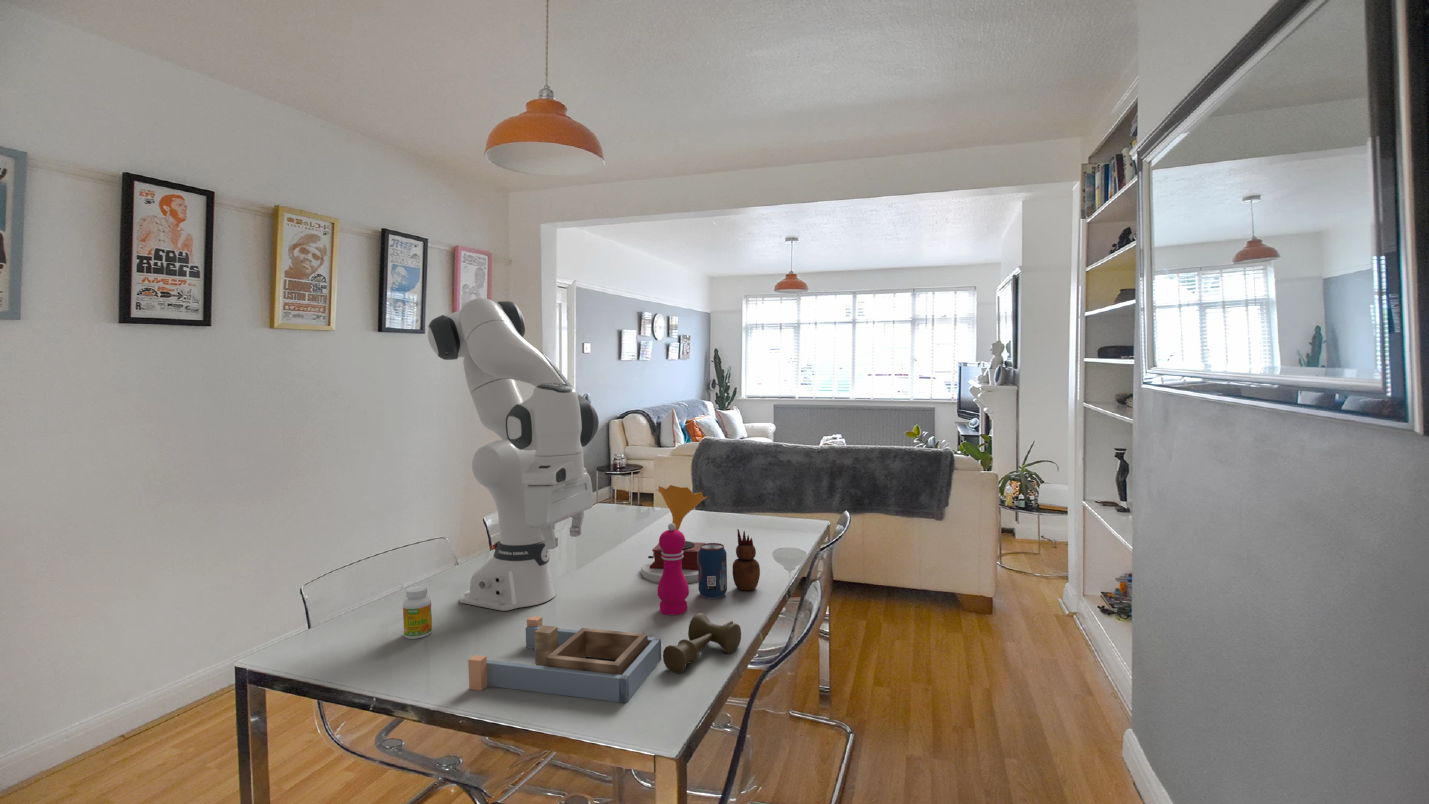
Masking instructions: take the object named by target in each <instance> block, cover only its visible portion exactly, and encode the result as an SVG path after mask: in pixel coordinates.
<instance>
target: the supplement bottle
mask: <svg viewBox="0 0 1429 804" xmlns="http://www.w3.org/2000/svg"><path fill="white" fill-rule="evenodd" d="M405 595H406V599H405V600H404V601H403V603H402V612H403V614H402V616H403V618H402V619H403V636H404V637H405V638H406V639H408V640H418V639H421V638H426V637H427V636H430V635H431V634H432V633H433V617H432V599H431V598H430V597H429V596H428V587H427V586H425V585H415V586H411V587H409V588H407V589H406V591H405Z"/></svg>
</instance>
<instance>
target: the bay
mask: <svg viewBox="0 0 1429 804" xmlns="http://www.w3.org/2000/svg"><path fill="white" fill-rule="evenodd" d="M542 626H543V617H542V616H537V615H536V616H534V615H532V616H530V617H528V618H527V619H526V627H525V648H526V649H534V650H535V631H536V630H538V629H539V628H540V627H542ZM579 630H580V629H577V630H576V629H569V628H568V629H567V628H559V627H558V647H560V646H561V645H562V644H563V643H564V642H566V641H567V640H568V639H569V638H571V637H572V636H573V635H574V634H575V633H577V632H578V631H579ZM661 660H662V638H660V637H654V636H653V637H650V636H648V646H647V647H646V648H645V649H644V651H643V652H642V653H641V654H640V655H639V656H638V657H637V659H636V660H635V661H634V662H633V663H632V664H631V665H630V666H629V668H628V669H627V670H626V671H625V672H624V673H623V674H622V675H616V674H608V673H599V672H590V671H582V670H573V669H564V668H556V667H547V666H538V665H536V664H528V663H518V662H510V661H500V660H493V659H488V656H486V655H480V654H479V655H477V654H474V655H473V656H471V657H470V658H468V660H467V663H468V667H467V668H468V689H469V690H474V691H482V690H483V691H484V689H486V688H487V687H496V688H504V689H513V690H518V691H519V690H520V691H528V692H535V693H545V694H551V695H552V694H553V695H558V696H559V695H560V696H567V697H568V696H569V697H575V698H583V699H589V700H598V701H605V702H615V703H623V704H627V703H628V702H629V700H630V699H631V698H632V697H633V696H634V694H635V693H636V691H637V690H638V689H639V688H640V686H641V685H643V683H644V682H645V680H646V679H647V678H648V677H649V676H650V674H651V673H652V672H653V670H654V669H655V668H656V666H658V664H659V663H660V662H661Z"/></svg>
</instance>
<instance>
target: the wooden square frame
mask: <svg viewBox="0 0 1429 804" xmlns="http://www.w3.org/2000/svg"><path fill="white" fill-rule="evenodd" d="M542 625H543V624H542ZM558 628H559V627H558V626H551V625H543V626H542V627H540V628H539V629H538V630H536V631H535V649H534V654H535V655H534V657H535V658H534V659H535V660H534V661H535V664H534V665H538V666H547V667H556V668H564V669H573V670H582V671H590V672H599V673H608V674H616V675H622V674H623V673H624V672H625V671H626V670H627V669H628V668H629V666H630V665H631V664H632V663H633V662H634V661H635V660H636V659H637V657H638V656H639V655H640V654H641V653H642V652H643V651H644V649H645V648H646V647H647V646H648V637H649V636H648V635H649V634H648V633H640V632H628V631H619V630H611V629H610V630H609V629H600V628H599V629H598V628H587V627H581V628H580V629H578V630H579V631H578V632H577V633H575V634H574V635H573V636H572V637H571V638H569V639H568V640H567V641H566V642H564V643H563V644H562V645H561V646H560V647H558ZM586 657H587V658H586ZM595 658H596V659H595ZM601 659H602V660H601ZM603 659H604V660H603ZM611 660H612V661H611ZM613 660H614V661H613Z"/></svg>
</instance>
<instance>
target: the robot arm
mask: <svg viewBox="0 0 1429 804" xmlns="http://www.w3.org/2000/svg"><path fill="white" fill-rule="evenodd" d="M525 322H526V321H525V318H524V315H523V312H522V311H521V310H520V308H519V306H518V305H517V304H515V303H514V302H513V301H508V300H502V301H497V302H495V301H493V300H492V299H489V298H485V297H478V298H473V299H471V300H469V301H467V302H466V303H465V304H464V305H463V306H462V308H461V309H460V310H457V311H454V312H451V313H449V314H446V315H445V314H441V315H439V316H437V317H435V318H433V319H431V321H430V322H429V324H428V329H427V330H428V332H427V339H428V343H429V345H430V348H431V349H432V351H433V352H434V353H435V354H436V355H437V357H438V358H440V359H442V360H444V361H445V360H446V361H449V360H450V361H451V360H452V361H453V360H458V358H463V362H462V363H463V370H464V374H465V379H466V383H467V387H468V390H469V393H470V396H471V399H472V402H473V404H474V407H475V409H476V413H477V415H478V418H479V421H480V422H481V424H482V425H483V426H484V427H485V428H486V429H488V430H490V431H492V432H494V433H495V434H496V435H498V437H500V439H499V440H496V441H493V442H490V443H488V444H486V445H483V446H480V447H478V449H477V450H476V451H475V453H474V454H473V456H472V457H473V458H472V462H471V469H472V473H473V476H474V478H475V479H476V481H477V482H478V483H479V484H480V485H481V486H483V487H484V488H486V489H487V490H488V491H489V493H490V495H491V496H492V498H493V501H494V503H495V506H496V509H497V516H498V531H499V540H498V541H496V542H495V543H494V544H491V545H489V548H490V549H489V551H493V550H494V551H493V556H492V557H491V558H490V559H488V561H486V562H485V563H484V564H482V565H481V566H480V567H479V568H477V569H476V570H475V571H474V573H473V574H472V575H471V578H470V583H469V589H468V590H466V591H465V592H464V593H462V594H461V595H460V597H459V603H462V604H464V605H465V604H466V605H471V606H476V607H481V608H486V609H492V610H497V611H502V612H505V611H511V610H514V609H518V608H525V607H527V608H528V607H532V606H536V605H541V604H543V603H545V602H548V601H550V600H552V599H553V598H555V596H556V594H557V593H556V591H555V587H554V584H553V580H552V575H551V569H550V556H551V555H550V552H551V551H550V550H554V549H556V548H558V546H559V538H558V537H556V535H555V530H556V527H555V526H556V524H559V523H561V522H562V521H565V520H568V519H569V518H572V519H571V527H569V536H570V537H572V538H573V537H575V538H576V537H579V536H581V535H582V526H583V521H584V517H585V515H584V514H585V513H584V512H585V511H588V510H590V509H592V507H593V504H594V491H593V484H592V479H591V475H590V474H589V473H588V470H587V468H586V467H585V461H584V449H583V448H585V447H586V446H588V444H590V443H591V442H592V440H593V439H594V437H595V436H596V434H597V432H598V430H599V424H600V423H599V416H598V413H597V411H596V409H595V408H594V406H593V405H592V404H591V402H589V401H588V400H587V399H586V398H585V397H583V396H582V395H581V394H580V393H579V392H577V390H576V388H575V387H573V385H572V384H571V383H570V382H569V380H568V379H567V378H566V377H565V375H564V374H563V372H562V371H561V370H560V369H559V368H558V367H557V366H556V364H555V363H554V362H553V360H551V358H549V357H548V356H547V354H545V353H544V352H543V351H542V350H540V349H538V348H536V347H535V346H533V345H532V344H531V343H530V342H528V341H527V340H526V339H525V338H524V337H525V336H524V335H525V334H526V323H525ZM517 381H518V382H519V381H520V382H523V383H525V384H530V385H532V386H534V389H533V393H532V395H531V396H530V397H528V399H526V400H524V397H523V395H522V393H521V390H520V388H519V386H518V382H517Z"/></svg>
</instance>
